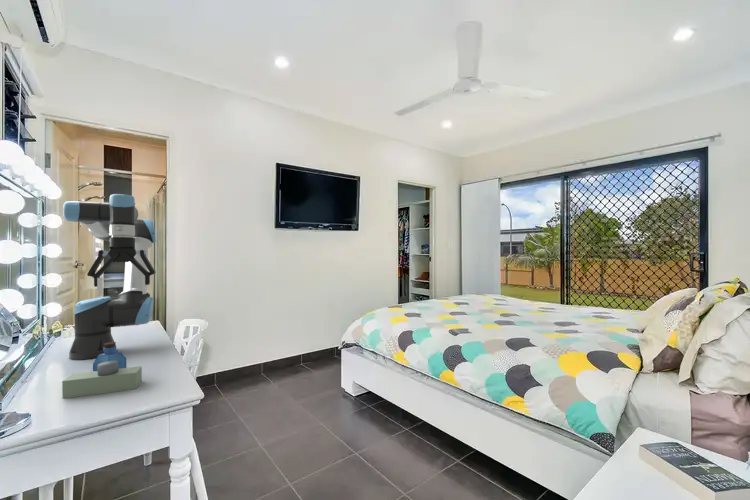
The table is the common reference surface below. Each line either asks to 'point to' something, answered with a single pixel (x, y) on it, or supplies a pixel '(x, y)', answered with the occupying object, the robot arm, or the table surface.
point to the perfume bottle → (110, 356)
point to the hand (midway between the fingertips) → (122, 294)
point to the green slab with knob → (102, 380)
